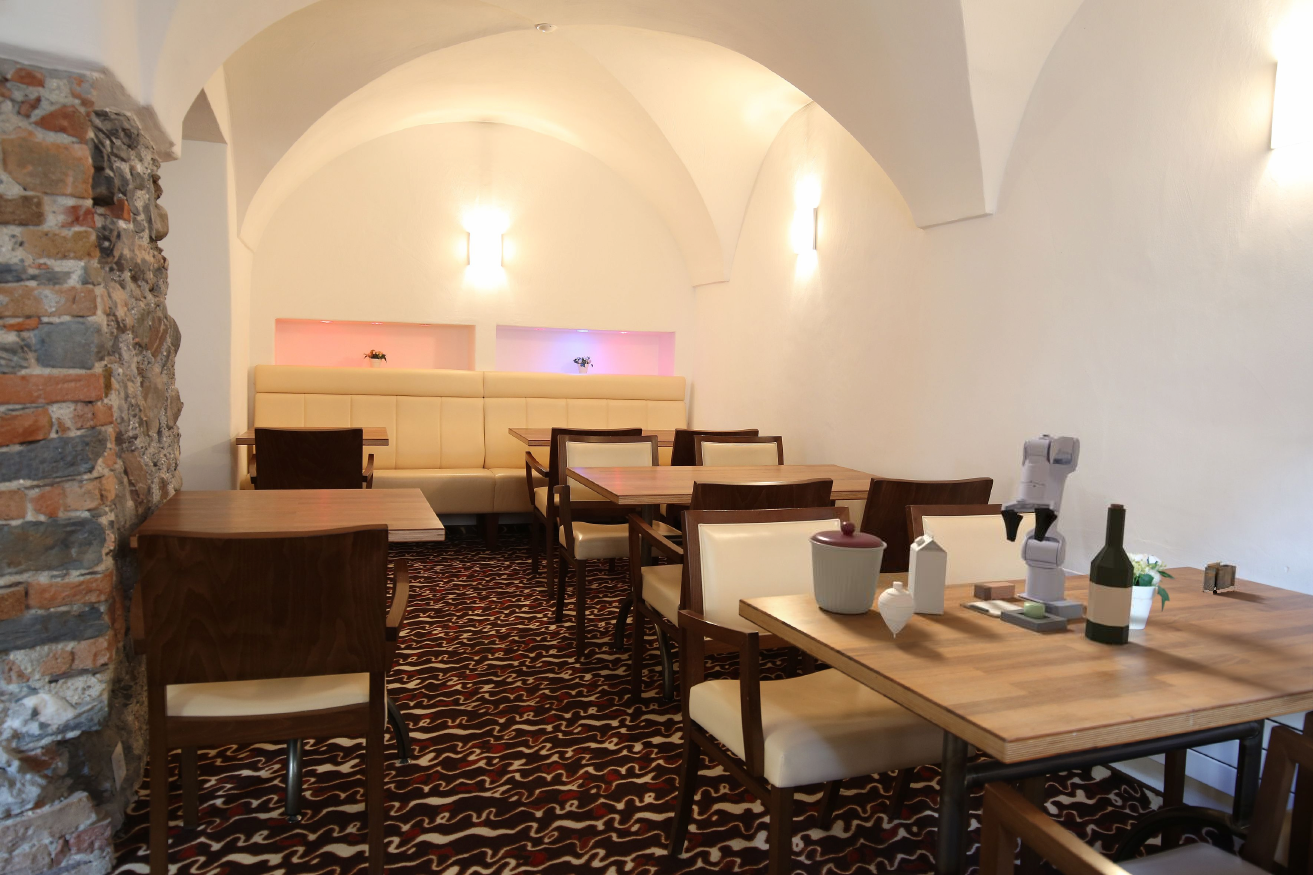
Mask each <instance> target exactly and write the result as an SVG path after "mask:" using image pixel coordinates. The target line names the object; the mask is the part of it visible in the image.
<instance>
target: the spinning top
mask: <svg viewBox="0 0 1313 875" xmlns="http://www.w3.org/2000/svg"><path fill="white" fill-rule="evenodd" d="M892 585H893V586H892V587H890V588H888V589H886V590H884V591H883V592H882V593H881V594H880V596H879V597H878V600H877V607H878V610H879V612H880V615H881V617H882V619H883V621H884V622H885V624H886V626H887V627H888V629H889V630H890V631H891V633H893V639H896V635H897V634H898V633H899V632H901V630H902V629H903V628H904V627H905V626H906V625H907V623H908V622H910V620H911V618H912V617H913V615H914V614H915V613H914V611H915V601H914V599H913V597H912V596H911V595H910V593H909V592H908V590H905V589H903V585H904V584H903V582H901V581H893V582H892Z"/></svg>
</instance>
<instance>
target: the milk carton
mask: <svg viewBox="0 0 1313 875" xmlns="http://www.w3.org/2000/svg"><path fill="white" fill-rule="evenodd" d="M934 536H935V535H934V534H933V533H931V532H930V531H929V530H927V529H926V530H925V534H924V535H922V536H921V535H920V536H918V537H917V538H916V539H914V542H912V544H910V551H909V561H908V562H909V563H908V564H909V566H908V578H907V579H908V580H907V592H909V593H910V595H911V596H912V597H913V599H914V601H915V611H914V613H913V614H915V613H916V614H918V613H919V614H927V615H929V614H931V615H932V614H933V615H944V605H945V604H944V603H945V590H946V577H947V576H946V575H947V564H948V563H947V561H948V559H947V558H948V552H947V551H946V550H945V549H944V548H943V547H941V546H940V545H939V544H938V543H937V542H936V540H934Z"/></svg>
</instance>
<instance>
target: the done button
mask: <svg viewBox="0 0 1313 875" xmlns="http://www.w3.org/2000/svg"><path fill="white" fill-rule="evenodd" d="M1023 607H1024V613H1023V616H1026V617H1029V618H1032V619H1035V620H1036V619H1044V613H1045V605H1044V604H1041V603H1040V602H1036V601H1025V602H1024V603H1023Z"/></svg>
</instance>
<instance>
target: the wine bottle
mask: <svg viewBox="0 0 1313 875" xmlns="http://www.w3.org/2000/svg"><path fill="white" fill-rule="evenodd" d="M1126 514H1127V509H1126V508H1125V505H1124V504H1123V503H1122V504H1120V503H1110V507H1108V506H1107V518H1106V526H1105V528H1106V529H1105V542H1104V546H1103V547H1102V548H1101V549H1100V550H1099V552H1097V554H1096V556H1094V558H1093V559H1092V560H1091V561H1090V566H1089V567H1090V569H1089V579H1088V590H1087V591H1088V594H1087V604H1086V605H1087V607H1086V615H1085V616H1086V618H1085V631H1084V637H1085V638H1087V639H1088V640H1090V641H1091V642H1096V643H1098V644H1099V643H1100V644H1104V645H1109V646H1110V645H1111V646H1124V645H1126V644H1128V643H1129V634H1130V633H1129V632H1130V624H1131V621H1130V620H1131V610H1132V602H1133V601H1132V598H1133V587H1134V577H1135V576H1134V575H1135V565H1134V564H1133V562H1132V561H1131V559H1130V557H1129V556H1128V554H1127V551H1126V550H1125V548H1124V535H1125V525H1126Z"/></svg>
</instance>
